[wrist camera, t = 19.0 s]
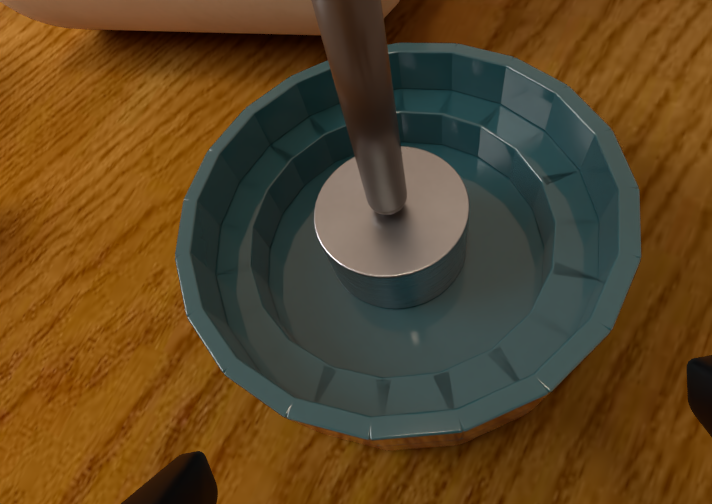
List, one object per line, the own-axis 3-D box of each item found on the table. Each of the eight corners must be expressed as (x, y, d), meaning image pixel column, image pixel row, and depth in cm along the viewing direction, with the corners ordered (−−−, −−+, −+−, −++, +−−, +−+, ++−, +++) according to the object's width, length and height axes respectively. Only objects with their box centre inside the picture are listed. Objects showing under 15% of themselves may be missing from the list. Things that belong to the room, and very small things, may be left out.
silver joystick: (425, 334, 16) (376, -2, 5) (306, 271, 18) (87, -64, 7) (489, 219, 18) (561, -223, 7) (374, 173, 20) (283, -219, 9)
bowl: (690, 341, 15) (775, 290, 11) (286, 524, 15) (229, 539, 11) (473, 79, 23) (478, -6, 19) (201, 196, 22) (149, 135, 18)
